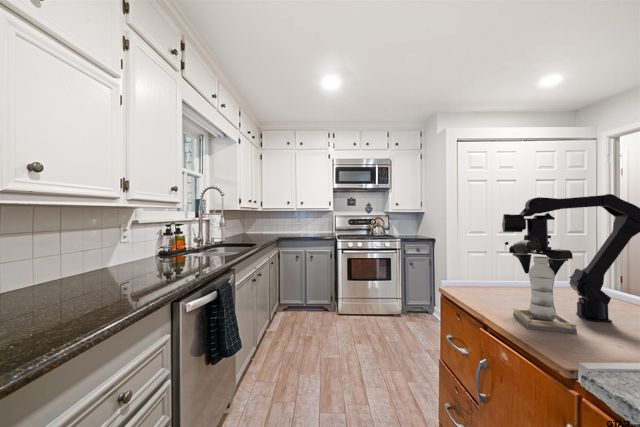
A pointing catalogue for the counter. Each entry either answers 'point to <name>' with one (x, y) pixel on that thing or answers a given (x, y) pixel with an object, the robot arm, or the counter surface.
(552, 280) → the plastic bottle
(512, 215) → the robot arm
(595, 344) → the counter surface
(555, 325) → the beige flat square frame
